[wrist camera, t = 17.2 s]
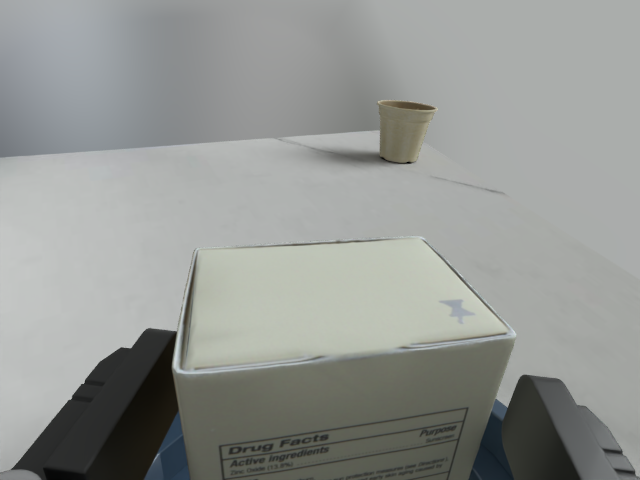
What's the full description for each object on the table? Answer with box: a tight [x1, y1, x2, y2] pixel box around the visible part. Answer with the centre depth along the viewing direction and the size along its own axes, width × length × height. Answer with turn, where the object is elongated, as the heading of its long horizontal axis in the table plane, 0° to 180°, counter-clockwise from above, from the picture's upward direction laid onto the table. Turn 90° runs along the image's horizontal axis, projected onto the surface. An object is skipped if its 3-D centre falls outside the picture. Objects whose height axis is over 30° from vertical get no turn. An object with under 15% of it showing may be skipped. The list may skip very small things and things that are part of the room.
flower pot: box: [377, 100, 437, 163], centre depth 66 cm, size 9×9×9 cm
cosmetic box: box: [172, 236, 516, 480], centre depth 11 cm, size 6×4×12 cm
